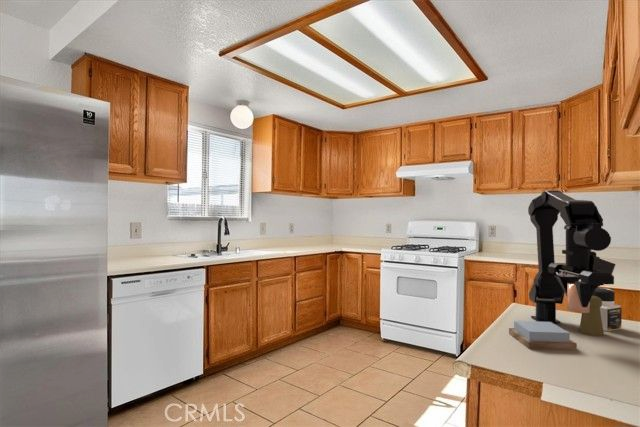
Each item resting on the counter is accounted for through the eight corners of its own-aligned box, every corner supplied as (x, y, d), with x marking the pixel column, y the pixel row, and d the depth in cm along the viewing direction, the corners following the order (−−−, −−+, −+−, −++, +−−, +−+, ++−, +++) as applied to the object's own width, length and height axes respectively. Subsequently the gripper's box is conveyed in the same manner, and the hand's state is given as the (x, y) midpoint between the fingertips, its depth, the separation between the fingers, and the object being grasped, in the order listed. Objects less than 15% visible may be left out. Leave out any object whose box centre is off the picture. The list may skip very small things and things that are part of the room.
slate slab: (513, 329, 108) (514, 320, 108) (550, 330, 107) (550, 321, 107) (529, 340, 98) (529, 331, 98) (569, 342, 97) (569, 332, 97)
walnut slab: (509, 336, 110) (509, 328, 110) (551, 337, 109) (551, 329, 109) (528, 351, 98) (528, 342, 98) (576, 352, 97) (576, 343, 97)
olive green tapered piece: (608, 336, 107) (608, 298, 107) (585, 335, 108) (585, 297, 108) (597, 330, 113) (597, 294, 113) (575, 329, 114) (575, 293, 114)
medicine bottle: (608, 331, 111) (608, 292, 111) (583, 325, 118) (583, 287, 118) (622, 328, 114) (622, 290, 114) (596, 322, 121) (596, 285, 121)
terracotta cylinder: (563, 307, 103) (563, 282, 103) (581, 308, 103) (581, 282, 103) (574, 312, 98) (574, 286, 98) (594, 313, 98) (594, 286, 98)
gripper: (636, 250, 91) (636, 314, 91) (585, 244, 109) (585, 297, 109) (589, 250, 91) (589, 314, 91) (547, 244, 110) (547, 296, 110)
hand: (578, 304), depth 100 cm, fingers closed on terracotta cylinder, 5 cm apart
